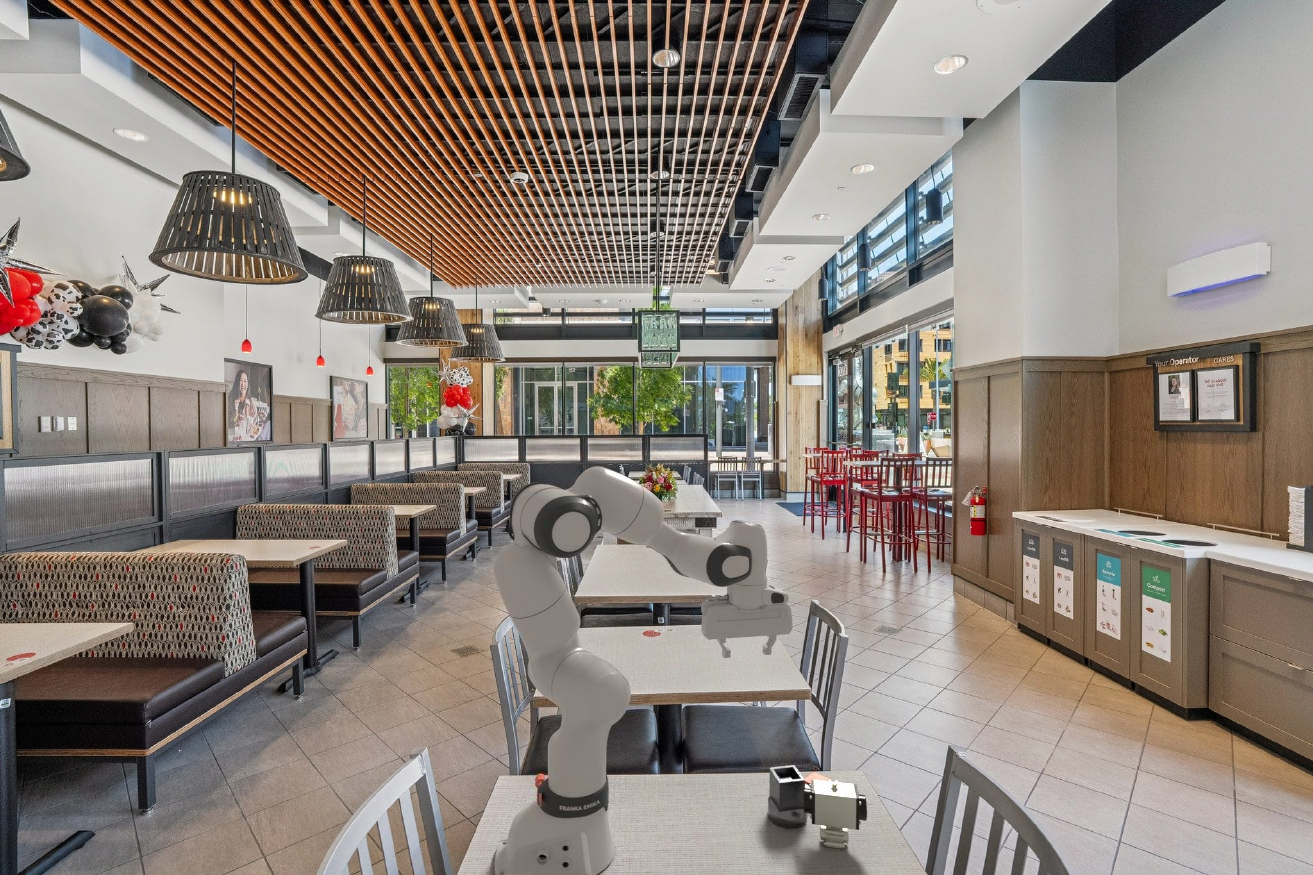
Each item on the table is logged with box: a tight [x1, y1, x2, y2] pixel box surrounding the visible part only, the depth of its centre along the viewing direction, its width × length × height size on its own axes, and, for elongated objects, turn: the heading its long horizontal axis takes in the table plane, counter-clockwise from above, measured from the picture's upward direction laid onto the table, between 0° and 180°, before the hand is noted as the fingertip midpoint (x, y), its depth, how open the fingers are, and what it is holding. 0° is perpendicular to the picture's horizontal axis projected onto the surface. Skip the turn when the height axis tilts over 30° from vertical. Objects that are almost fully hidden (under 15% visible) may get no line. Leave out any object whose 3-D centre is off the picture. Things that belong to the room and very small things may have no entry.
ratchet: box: [767, 772, 830, 830], centre depth 132 cm, size 18×8×8 cm, turn 136°
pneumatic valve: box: [803, 779, 868, 850], centre depth 120 cm, size 6×12×12 cm, turn 78°
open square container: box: [768, 764, 806, 812], centre depth 128 cm, size 6×6×6 cm
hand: (746, 655), depth 135 cm, fingers open, 8 cm apart
